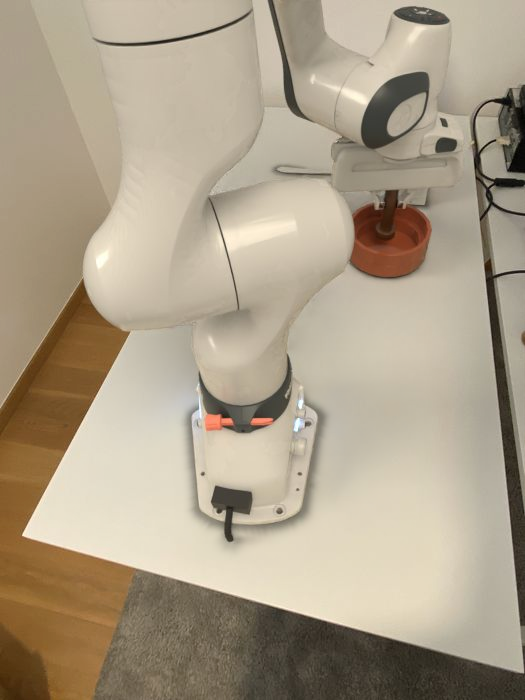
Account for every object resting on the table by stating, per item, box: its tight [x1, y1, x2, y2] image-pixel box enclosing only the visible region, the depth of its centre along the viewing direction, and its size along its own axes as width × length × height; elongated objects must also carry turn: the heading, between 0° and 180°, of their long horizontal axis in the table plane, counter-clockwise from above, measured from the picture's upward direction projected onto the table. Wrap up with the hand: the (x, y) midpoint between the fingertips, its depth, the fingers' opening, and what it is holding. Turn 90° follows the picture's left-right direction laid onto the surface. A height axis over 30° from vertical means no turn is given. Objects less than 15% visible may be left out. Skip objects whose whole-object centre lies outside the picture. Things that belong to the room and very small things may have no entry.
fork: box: [276, 166, 332, 175], centre depth 107 cm, size 3×24×2 cm, turn 72°
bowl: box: [349, 202, 433, 278], centre depth 91 cm, size 14×14×6 cm
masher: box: [375, 190, 399, 241], centre depth 85 cm, size 4×4×12 cm
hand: (389, 207), depth 85 cm, fingers closed on masher, 2 cm apart
